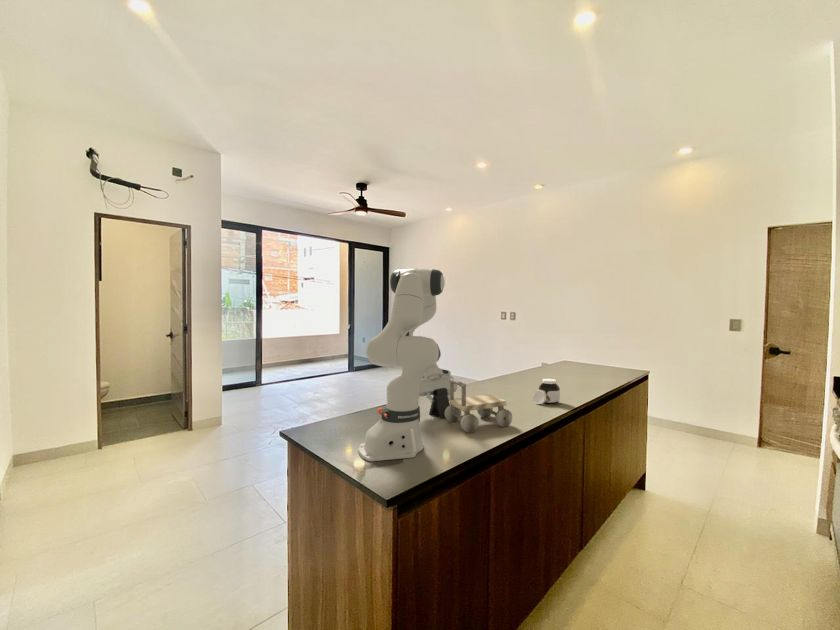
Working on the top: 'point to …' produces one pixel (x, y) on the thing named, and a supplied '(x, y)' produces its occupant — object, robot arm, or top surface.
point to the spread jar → (547, 392)
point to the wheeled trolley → (478, 403)
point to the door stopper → (439, 403)
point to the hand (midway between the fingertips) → (441, 401)
